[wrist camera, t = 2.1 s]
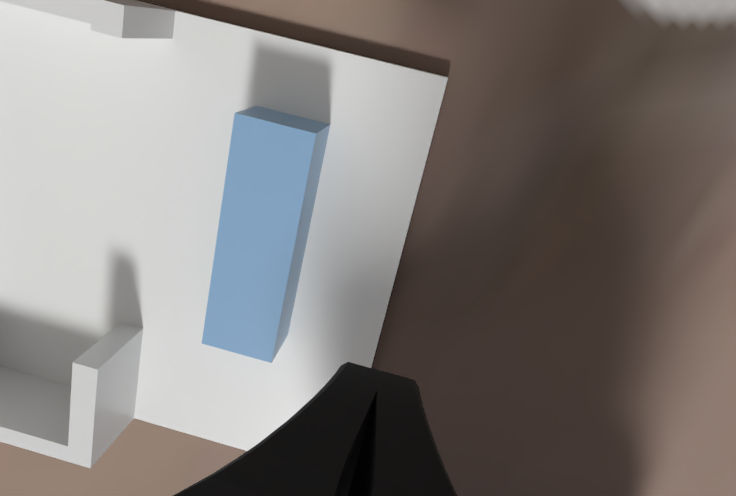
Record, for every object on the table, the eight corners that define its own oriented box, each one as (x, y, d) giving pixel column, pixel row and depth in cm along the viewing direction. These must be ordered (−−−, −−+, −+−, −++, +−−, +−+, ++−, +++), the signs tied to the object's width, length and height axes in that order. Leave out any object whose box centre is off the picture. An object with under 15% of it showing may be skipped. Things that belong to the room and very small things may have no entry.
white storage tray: (448, 77, 16) (445, 84, 14) (343, 470, 21) (325, 538, 18) (-53, -46, 17) (-155, -64, 14) (-42, 359, 22) (-117, 406, 19)
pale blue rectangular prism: (330, 124, 17) (316, 133, 15) (287, 335, 19) (271, 363, 18) (257, 105, 17) (234, 112, 15) (223, 317, 20) (201, 343, 18)
